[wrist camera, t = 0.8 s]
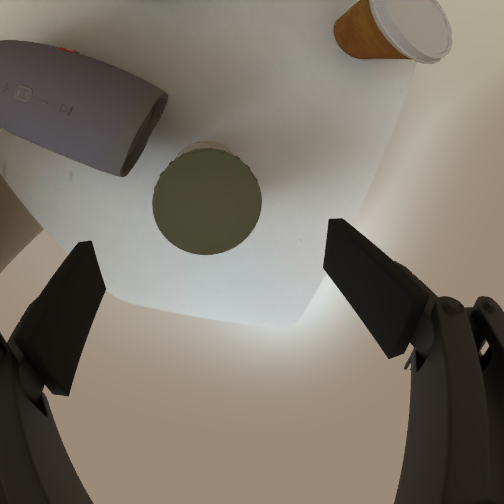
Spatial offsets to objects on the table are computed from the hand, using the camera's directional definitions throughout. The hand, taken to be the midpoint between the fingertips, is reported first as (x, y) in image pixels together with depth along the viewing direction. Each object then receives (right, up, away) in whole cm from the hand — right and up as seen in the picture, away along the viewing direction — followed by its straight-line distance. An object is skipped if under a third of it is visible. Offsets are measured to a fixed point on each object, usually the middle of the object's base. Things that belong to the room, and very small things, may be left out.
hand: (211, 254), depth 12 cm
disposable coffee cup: (+14, +26, +10) cm, 31 cm away
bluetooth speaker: (-18, +17, +8) cm, 26 cm away
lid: (-1, +4, +7) cm, 8 cm away
